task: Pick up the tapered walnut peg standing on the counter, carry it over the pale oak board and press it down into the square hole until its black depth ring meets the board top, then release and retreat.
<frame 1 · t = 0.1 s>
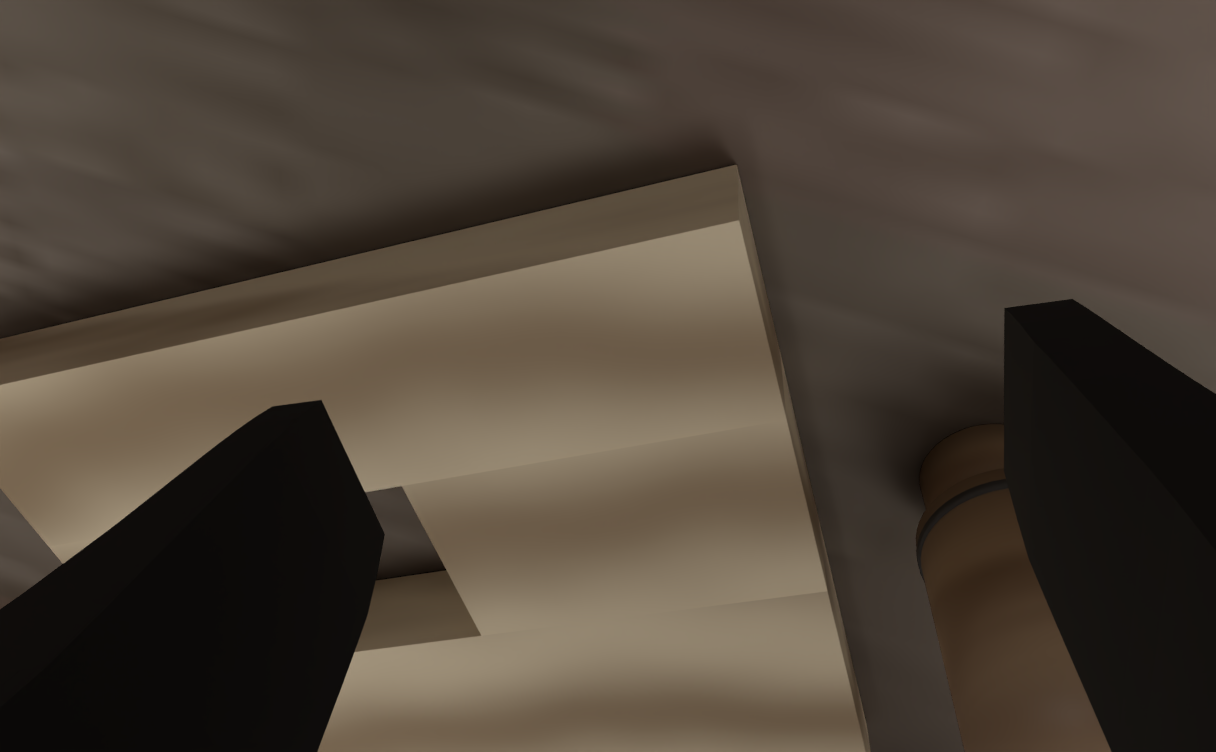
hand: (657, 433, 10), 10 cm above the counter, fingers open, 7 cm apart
peg: (985, 474, 23), on the counter
board: (476, 551, 26), on the counter
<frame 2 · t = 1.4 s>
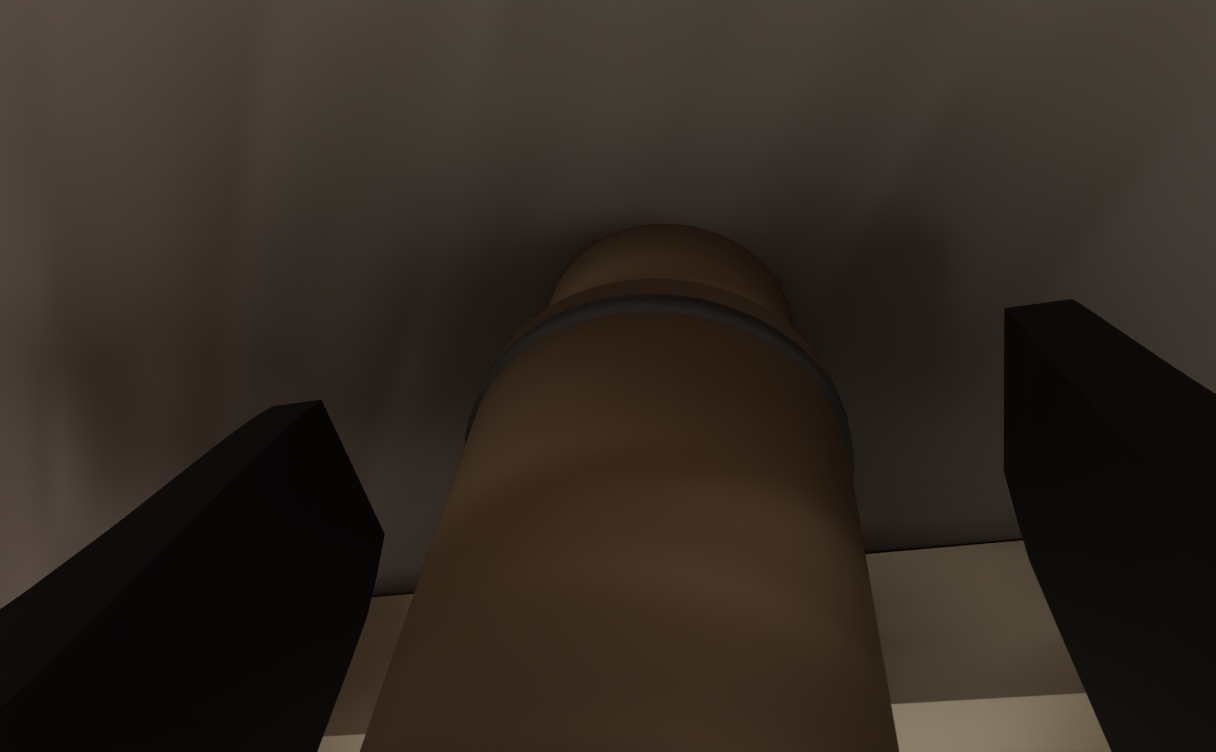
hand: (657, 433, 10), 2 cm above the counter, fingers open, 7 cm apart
peg: (667, 335, 12), on the counter
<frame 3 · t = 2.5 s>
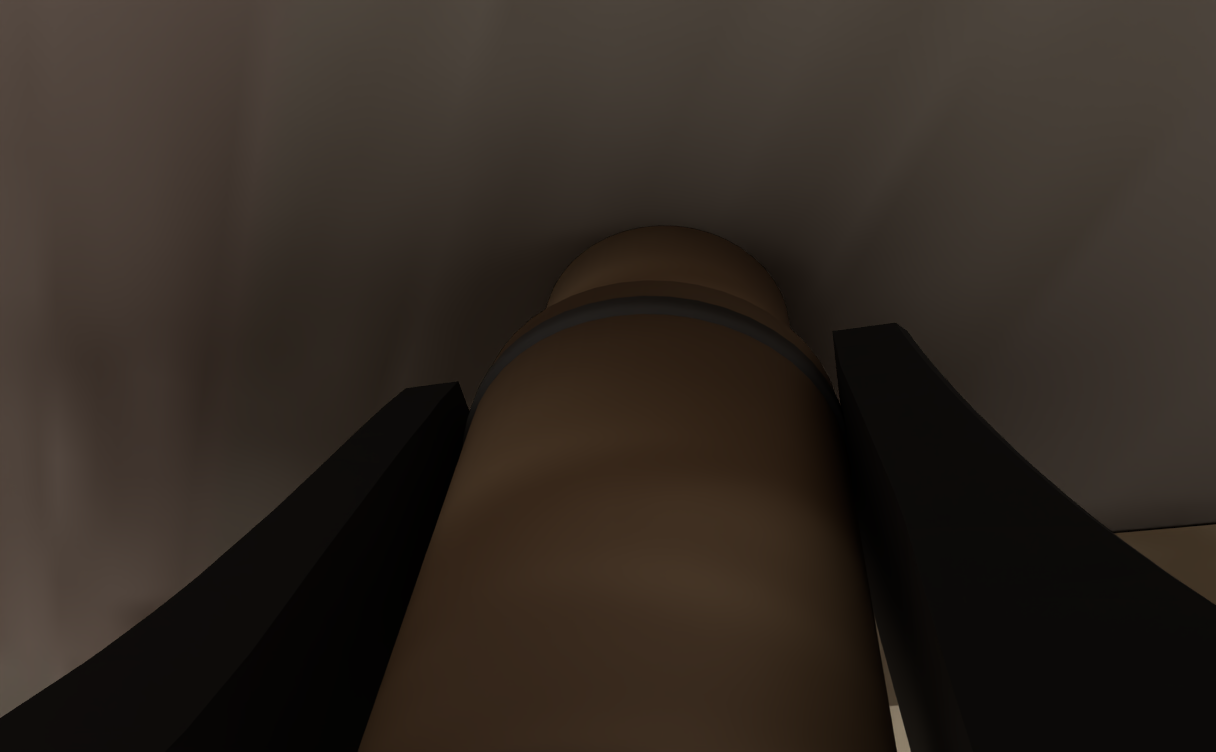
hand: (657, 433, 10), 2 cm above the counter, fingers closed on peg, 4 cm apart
peg: (665, 337, 12), on the counter, touching gripper
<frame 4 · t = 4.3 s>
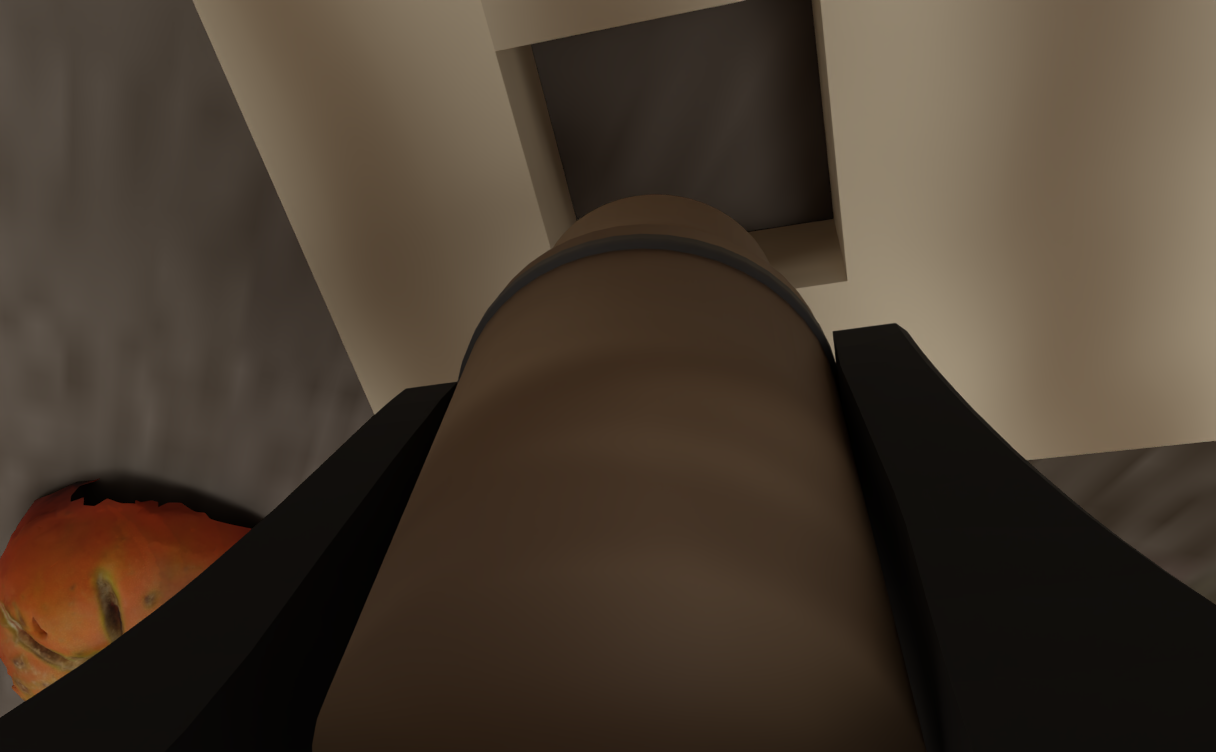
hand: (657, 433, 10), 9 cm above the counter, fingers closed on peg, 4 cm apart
peg: (656, 310, 12), point 7 cm above the counter, touching gripper
tomato: (190, 566, 27), on the counter
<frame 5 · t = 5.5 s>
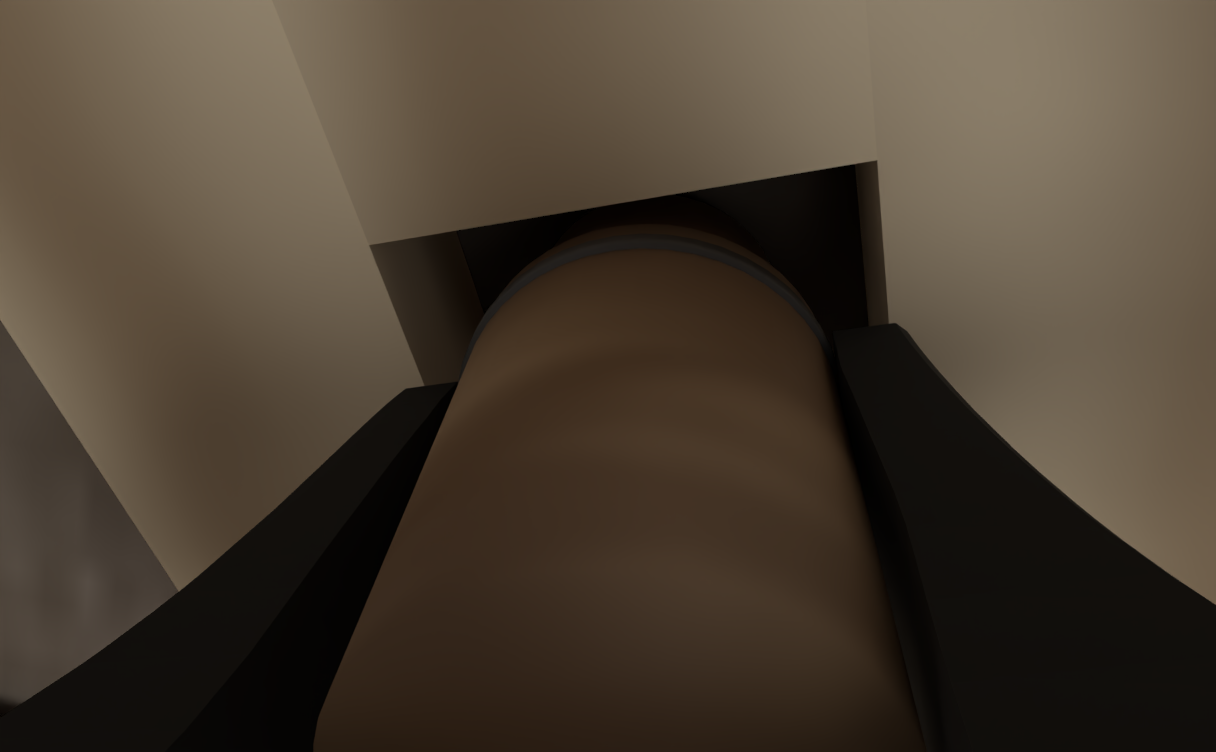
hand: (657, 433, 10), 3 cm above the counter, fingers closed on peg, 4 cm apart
peg: (656, 309, 12), point 1 cm above the counter, touching gripper
board: (806, 124, 11), on the counter
when the fingers open (3 cm above the counter, at t = 6.3 s): peg stays where it is, resting in board.
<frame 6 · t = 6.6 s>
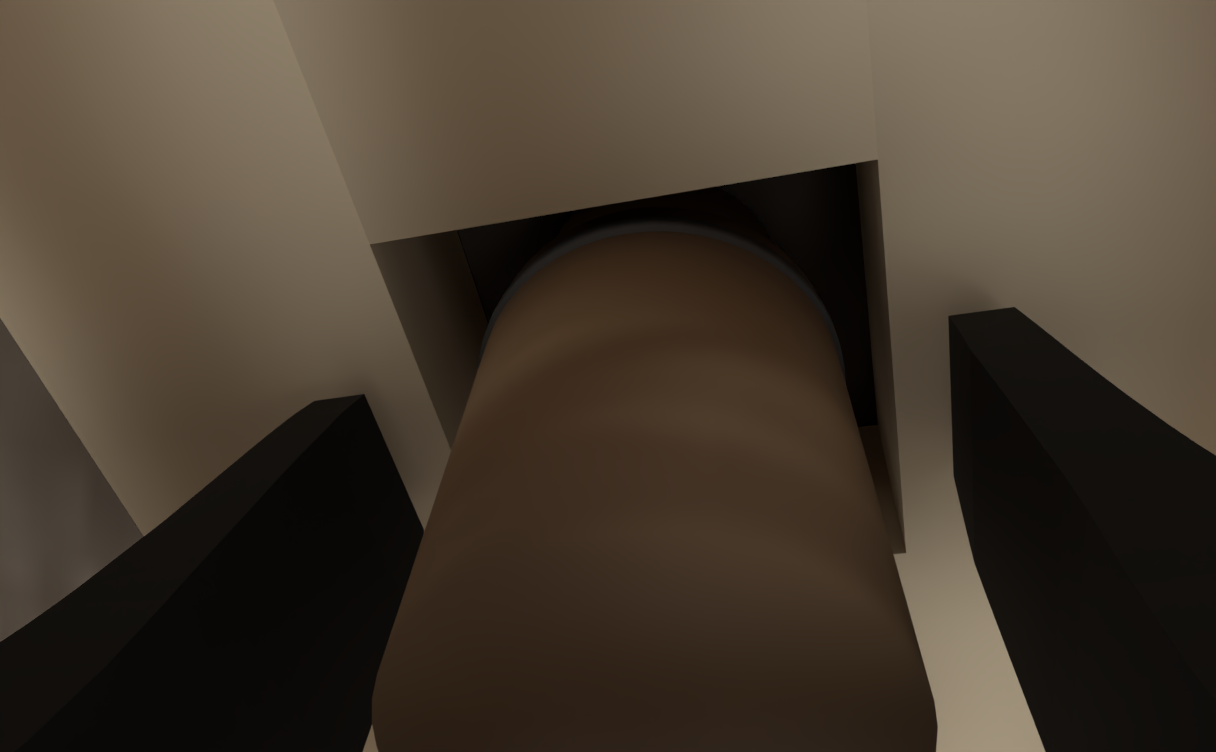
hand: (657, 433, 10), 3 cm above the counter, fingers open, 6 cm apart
peg: (661, 286, 13), resting in board
board: (807, 124, 11), on the counter
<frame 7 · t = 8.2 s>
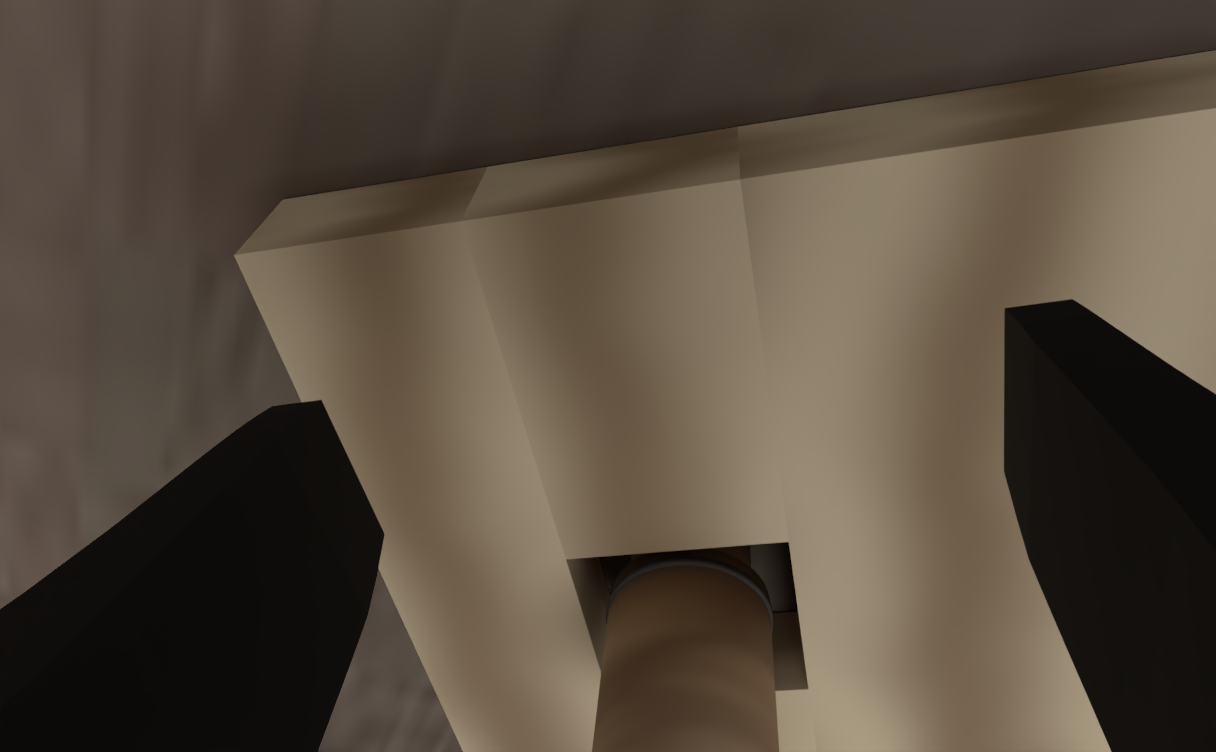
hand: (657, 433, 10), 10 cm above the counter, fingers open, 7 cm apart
peg: (690, 545, 25), resting in board
board: (763, 485, 23), on the counter
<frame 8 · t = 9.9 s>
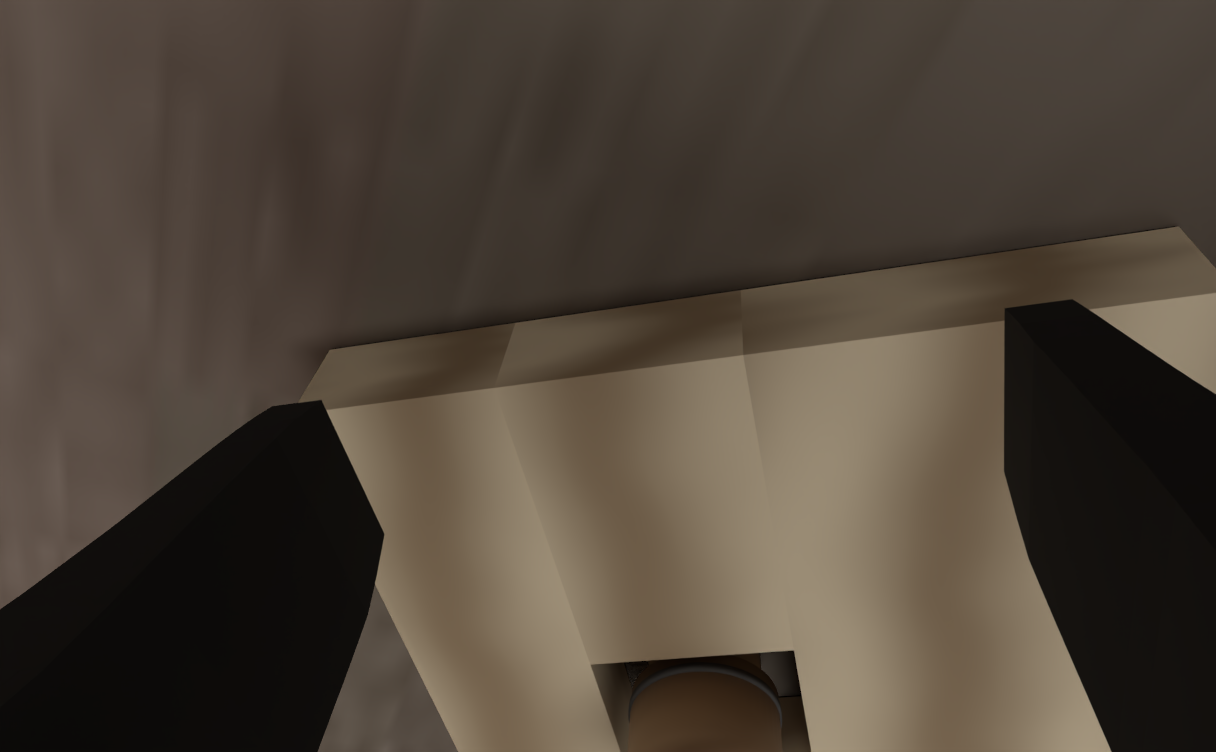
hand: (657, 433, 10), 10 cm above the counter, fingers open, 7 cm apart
peg: (704, 639, 27), resting in board
board: (770, 588, 25), on the counter
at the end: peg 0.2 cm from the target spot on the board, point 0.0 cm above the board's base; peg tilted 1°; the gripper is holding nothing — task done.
